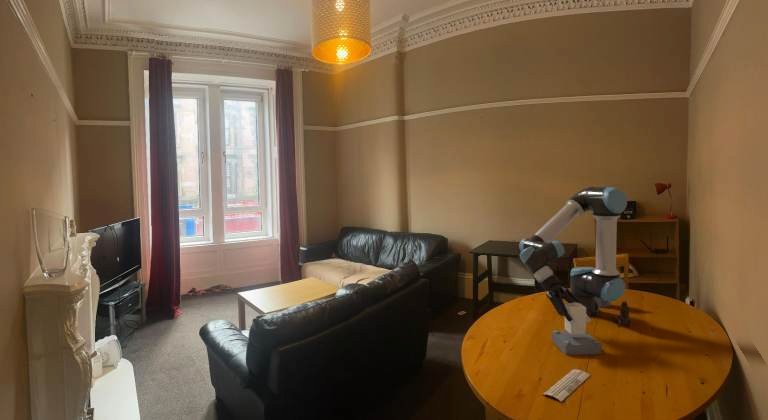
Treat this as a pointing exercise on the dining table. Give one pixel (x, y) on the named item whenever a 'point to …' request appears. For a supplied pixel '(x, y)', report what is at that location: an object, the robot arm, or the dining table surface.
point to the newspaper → (567, 384)
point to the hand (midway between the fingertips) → (583, 324)
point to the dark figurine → (623, 315)
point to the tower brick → (579, 315)
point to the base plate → (576, 343)
